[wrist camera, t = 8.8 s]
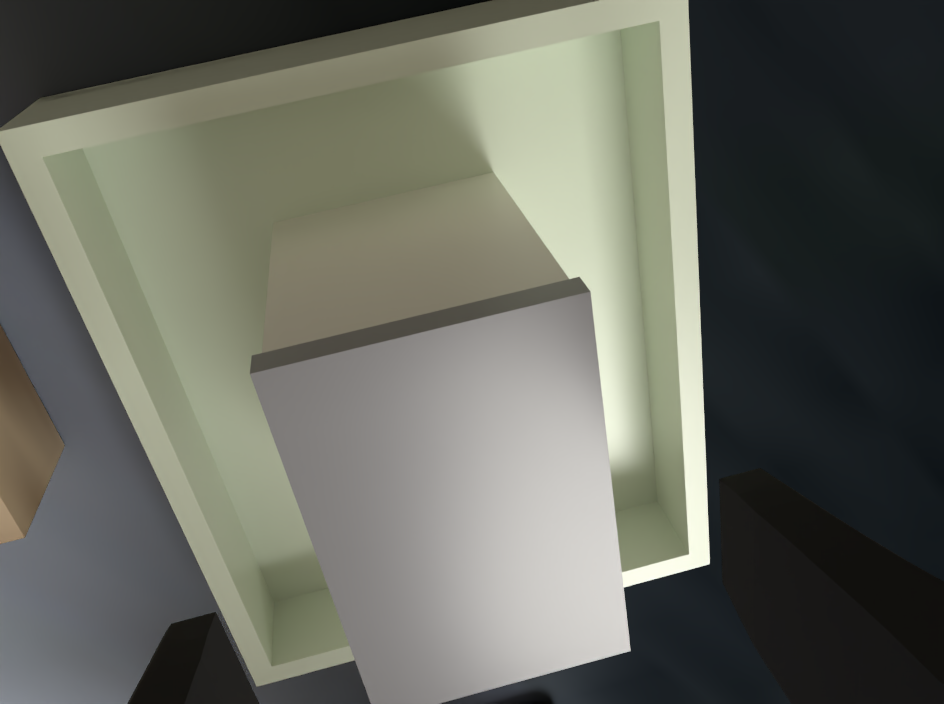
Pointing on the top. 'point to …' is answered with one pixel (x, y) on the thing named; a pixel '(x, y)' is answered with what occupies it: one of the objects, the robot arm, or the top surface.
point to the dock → (22, 446)
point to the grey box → (444, 439)
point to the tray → (358, 180)
